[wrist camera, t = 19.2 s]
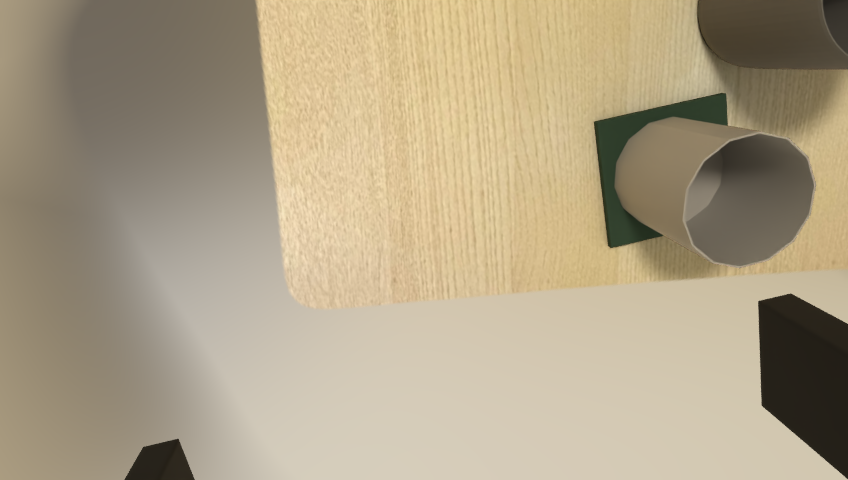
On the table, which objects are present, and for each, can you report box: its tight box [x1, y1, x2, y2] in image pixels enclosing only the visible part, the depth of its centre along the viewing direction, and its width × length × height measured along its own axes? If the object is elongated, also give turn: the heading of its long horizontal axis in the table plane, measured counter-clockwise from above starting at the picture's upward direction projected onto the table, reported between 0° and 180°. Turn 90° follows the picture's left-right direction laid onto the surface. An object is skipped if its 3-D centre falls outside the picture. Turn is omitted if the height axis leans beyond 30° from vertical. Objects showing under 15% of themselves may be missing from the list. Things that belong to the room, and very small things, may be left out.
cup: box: [614, 117, 816, 268], centre depth 40 cm, size 8×8×10 cm
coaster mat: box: [594, 93, 728, 248], centre depth 45 cm, size 10×10×1 cm
